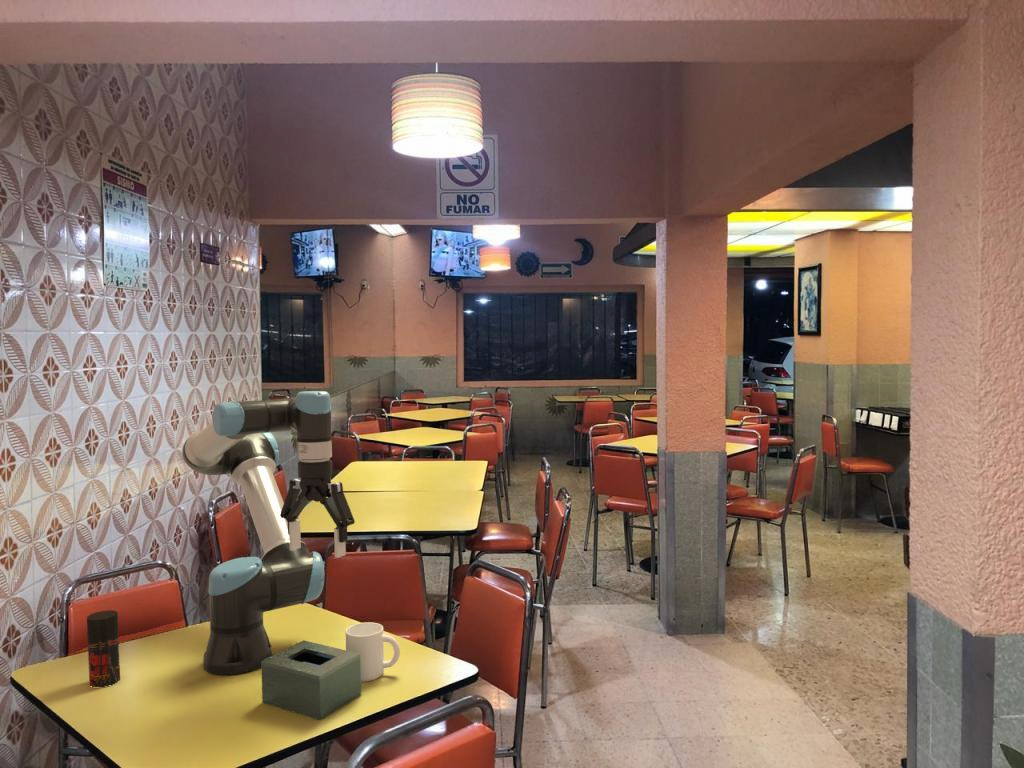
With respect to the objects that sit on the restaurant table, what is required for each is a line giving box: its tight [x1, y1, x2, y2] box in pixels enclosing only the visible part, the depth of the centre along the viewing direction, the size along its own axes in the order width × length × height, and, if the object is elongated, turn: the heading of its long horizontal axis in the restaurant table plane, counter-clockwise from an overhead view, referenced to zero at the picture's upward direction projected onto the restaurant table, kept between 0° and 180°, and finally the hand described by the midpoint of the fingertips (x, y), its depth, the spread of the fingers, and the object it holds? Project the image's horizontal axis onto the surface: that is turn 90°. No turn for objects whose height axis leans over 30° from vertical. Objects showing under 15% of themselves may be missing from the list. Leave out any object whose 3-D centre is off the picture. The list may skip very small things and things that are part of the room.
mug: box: [345, 621, 401, 683], centre depth 164 cm, size 12×8×10 cm
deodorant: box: [86, 609, 121, 688], centre depth 162 cm, size 6×6×15 cm
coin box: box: [260, 640, 362, 721], centre depth 153 cm, size 16×12×9 cm
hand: (317, 552), depth 167 cm, fingers open, 13 cm apart
